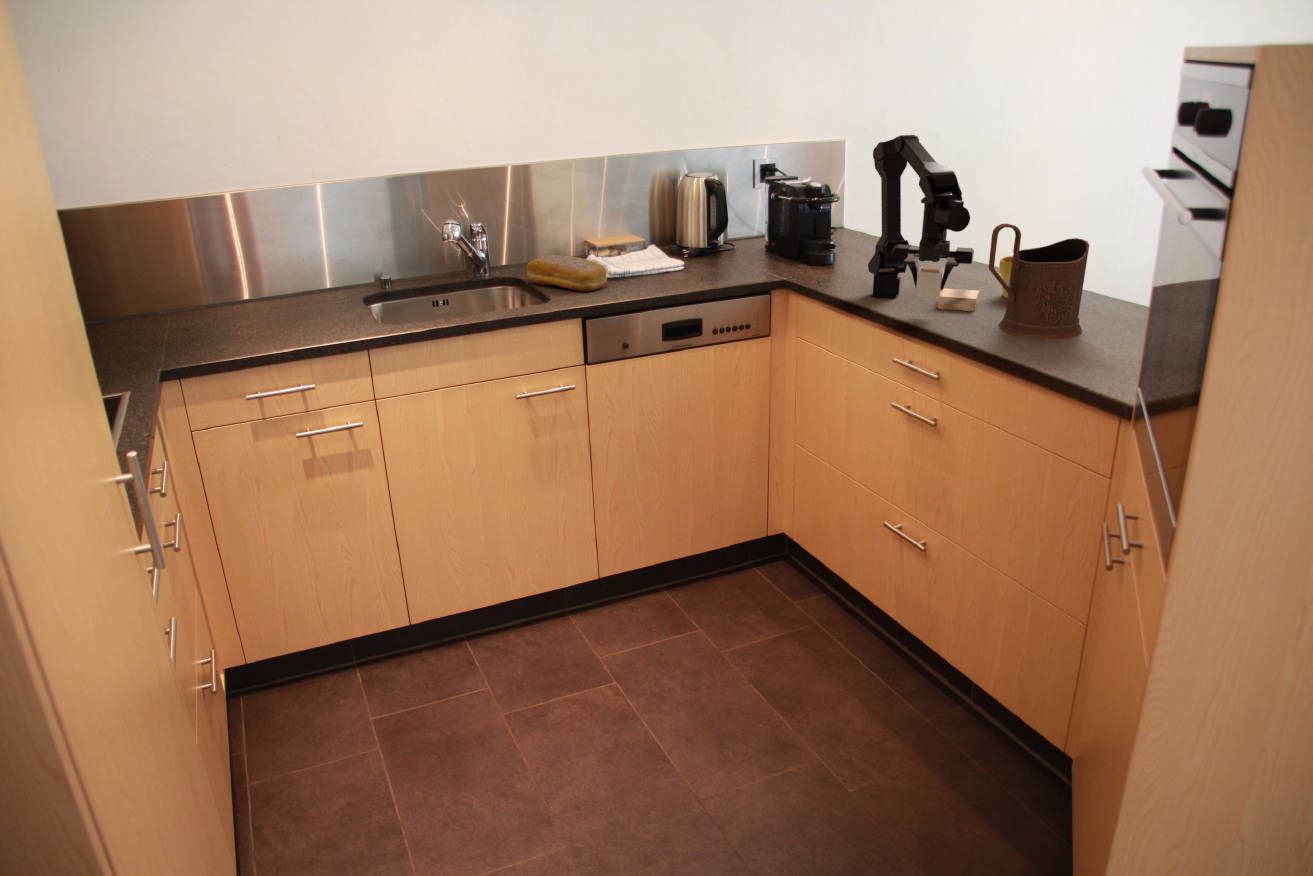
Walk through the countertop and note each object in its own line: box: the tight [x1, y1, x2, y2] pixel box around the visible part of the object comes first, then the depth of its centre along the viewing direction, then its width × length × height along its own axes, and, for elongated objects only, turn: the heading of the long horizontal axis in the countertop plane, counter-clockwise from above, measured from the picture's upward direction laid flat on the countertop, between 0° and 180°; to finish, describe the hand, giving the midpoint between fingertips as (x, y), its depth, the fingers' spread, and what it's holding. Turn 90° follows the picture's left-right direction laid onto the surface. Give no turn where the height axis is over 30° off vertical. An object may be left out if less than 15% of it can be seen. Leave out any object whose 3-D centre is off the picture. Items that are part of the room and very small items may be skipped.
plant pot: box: [998, 255, 1013, 299], centre depth 244 cm, size 10×10×10 cm
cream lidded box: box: [915, 264, 945, 299], centre depth 227 cm, size 6×6×7 cm
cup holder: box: [988, 223, 1090, 341], centre depth 213 cm, size 18×24×25 cm
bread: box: [526, 254, 608, 293], centre depth 269 cm, size 13×26×8 cm, turn 55°
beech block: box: [937, 287, 981, 312], centre depth 238 cm, size 9×9×4 cm
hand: (929, 289), depth 228 cm, fingers closed on cream lidded box, 6 cm apart
